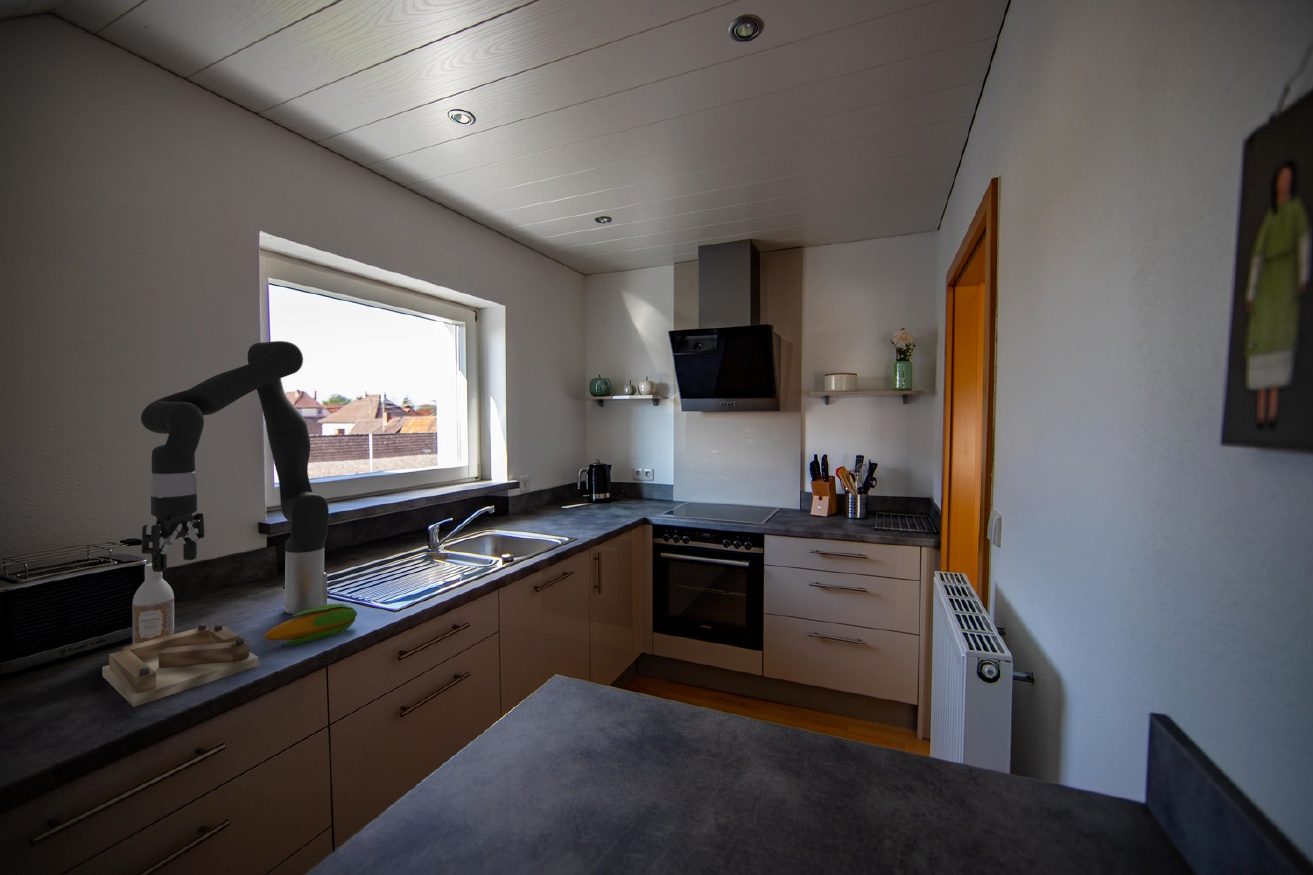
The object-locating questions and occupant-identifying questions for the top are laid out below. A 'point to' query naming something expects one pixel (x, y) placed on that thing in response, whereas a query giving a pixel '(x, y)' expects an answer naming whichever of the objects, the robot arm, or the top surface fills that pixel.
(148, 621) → the bath foam
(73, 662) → the top surface
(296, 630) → the corn
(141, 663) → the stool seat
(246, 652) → the brown rectangular block
